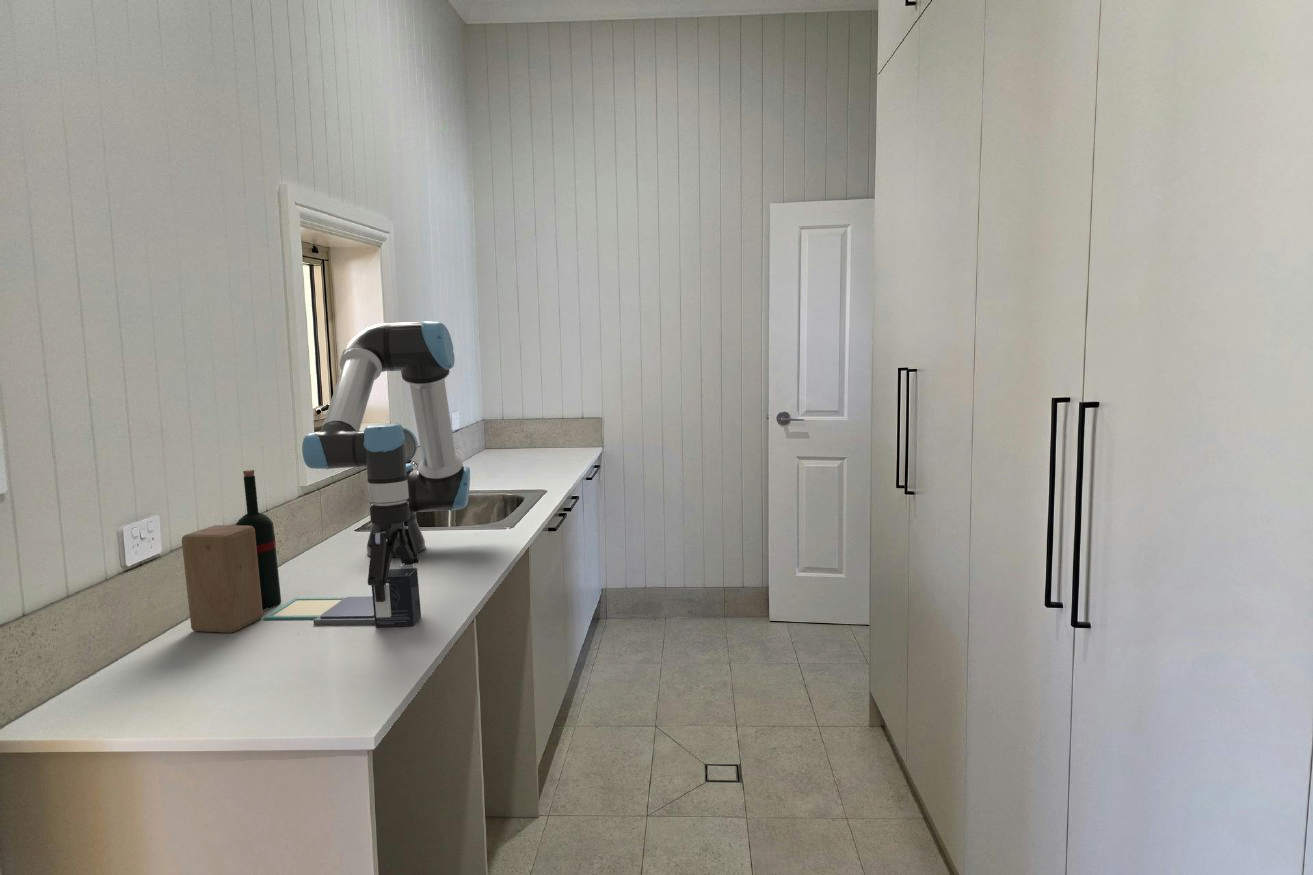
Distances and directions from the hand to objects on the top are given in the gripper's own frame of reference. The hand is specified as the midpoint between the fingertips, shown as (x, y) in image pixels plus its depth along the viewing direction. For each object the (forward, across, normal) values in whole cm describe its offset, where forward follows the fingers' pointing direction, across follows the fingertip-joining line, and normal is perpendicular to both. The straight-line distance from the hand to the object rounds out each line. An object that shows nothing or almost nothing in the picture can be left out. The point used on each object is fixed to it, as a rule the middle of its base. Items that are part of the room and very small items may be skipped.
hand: (397, 605), depth 172 cm
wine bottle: (+4, -14, -36) cm, 39 cm away
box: (+4, 0, 0) cm, 4 cm away
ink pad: (+4, -7, -11) cm, 14 cm away
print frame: (+4, -10, -23) cm, 25 cm away
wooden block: (+4, 0, -36) cm, 36 cm away
